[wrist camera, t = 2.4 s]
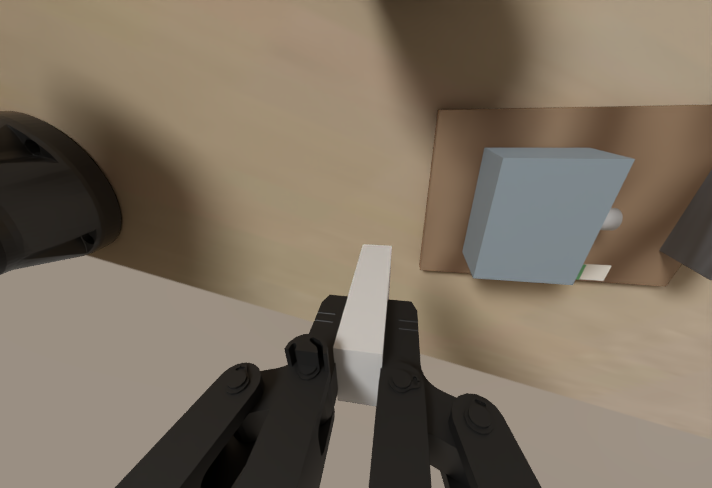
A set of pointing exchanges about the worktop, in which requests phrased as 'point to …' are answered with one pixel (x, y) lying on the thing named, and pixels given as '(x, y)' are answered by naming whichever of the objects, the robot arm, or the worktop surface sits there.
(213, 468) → the robot arm
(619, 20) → the worktop surface
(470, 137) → the base
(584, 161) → the block
